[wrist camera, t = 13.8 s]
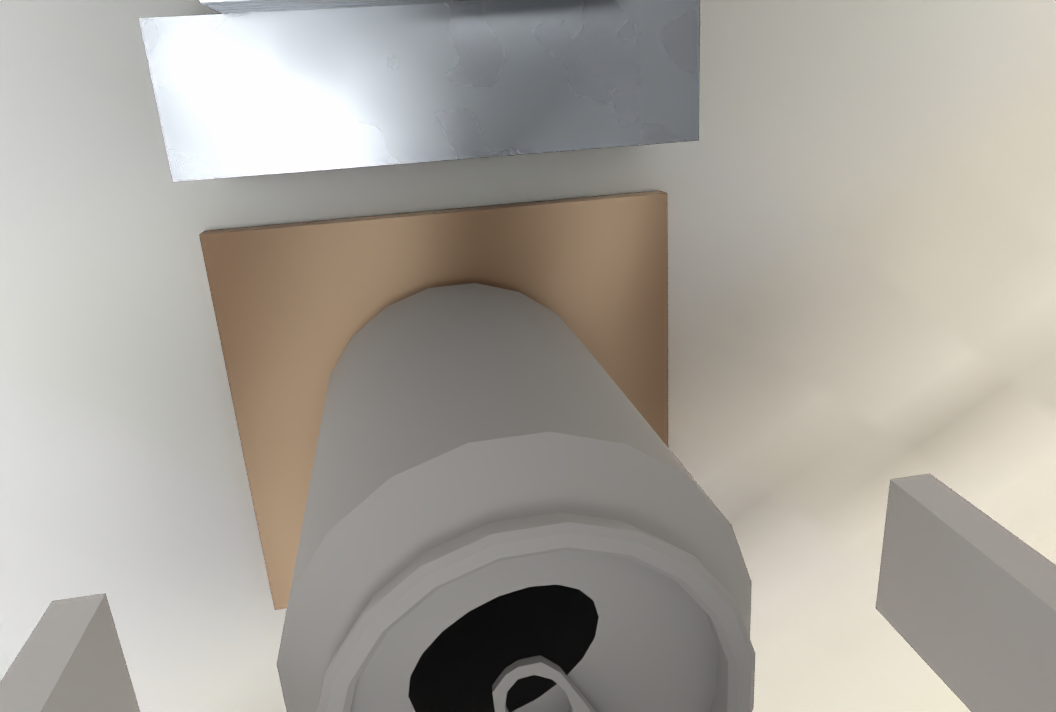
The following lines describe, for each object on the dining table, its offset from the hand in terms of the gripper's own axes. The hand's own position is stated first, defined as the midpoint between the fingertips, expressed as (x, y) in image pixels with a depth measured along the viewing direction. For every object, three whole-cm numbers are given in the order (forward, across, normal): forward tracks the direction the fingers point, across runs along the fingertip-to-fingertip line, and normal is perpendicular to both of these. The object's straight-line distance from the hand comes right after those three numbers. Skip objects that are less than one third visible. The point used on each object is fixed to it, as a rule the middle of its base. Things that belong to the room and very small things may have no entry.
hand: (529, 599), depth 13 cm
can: (+9, 0, 0) cm, 9 cm away
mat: (+10, 0, 0) cm, 10 cm away
